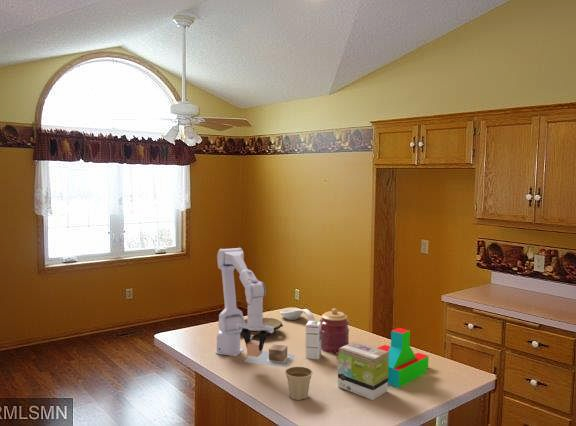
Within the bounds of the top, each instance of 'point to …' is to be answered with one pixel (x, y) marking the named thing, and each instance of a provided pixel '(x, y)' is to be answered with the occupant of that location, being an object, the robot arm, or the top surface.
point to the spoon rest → (296, 314)
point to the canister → (334, 331)
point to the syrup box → (313, 339)
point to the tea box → (363, 370)
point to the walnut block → (278, 353)
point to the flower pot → (298, 382)
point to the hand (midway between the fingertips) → (254, 349)
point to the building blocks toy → (403, 359)
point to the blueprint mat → (265, 360)
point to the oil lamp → (268, 322)
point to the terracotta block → (253, 349)
